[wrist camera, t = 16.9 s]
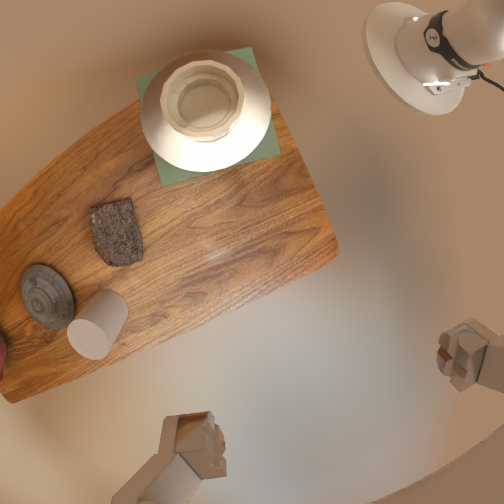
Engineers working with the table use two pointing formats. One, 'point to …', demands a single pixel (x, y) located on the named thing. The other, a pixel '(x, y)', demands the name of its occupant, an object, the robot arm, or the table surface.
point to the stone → (116, 233)
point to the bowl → (2, 354)
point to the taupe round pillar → (98, 324)
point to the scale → (222, 149)
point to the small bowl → (202, 100)
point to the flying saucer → (47, 297)
